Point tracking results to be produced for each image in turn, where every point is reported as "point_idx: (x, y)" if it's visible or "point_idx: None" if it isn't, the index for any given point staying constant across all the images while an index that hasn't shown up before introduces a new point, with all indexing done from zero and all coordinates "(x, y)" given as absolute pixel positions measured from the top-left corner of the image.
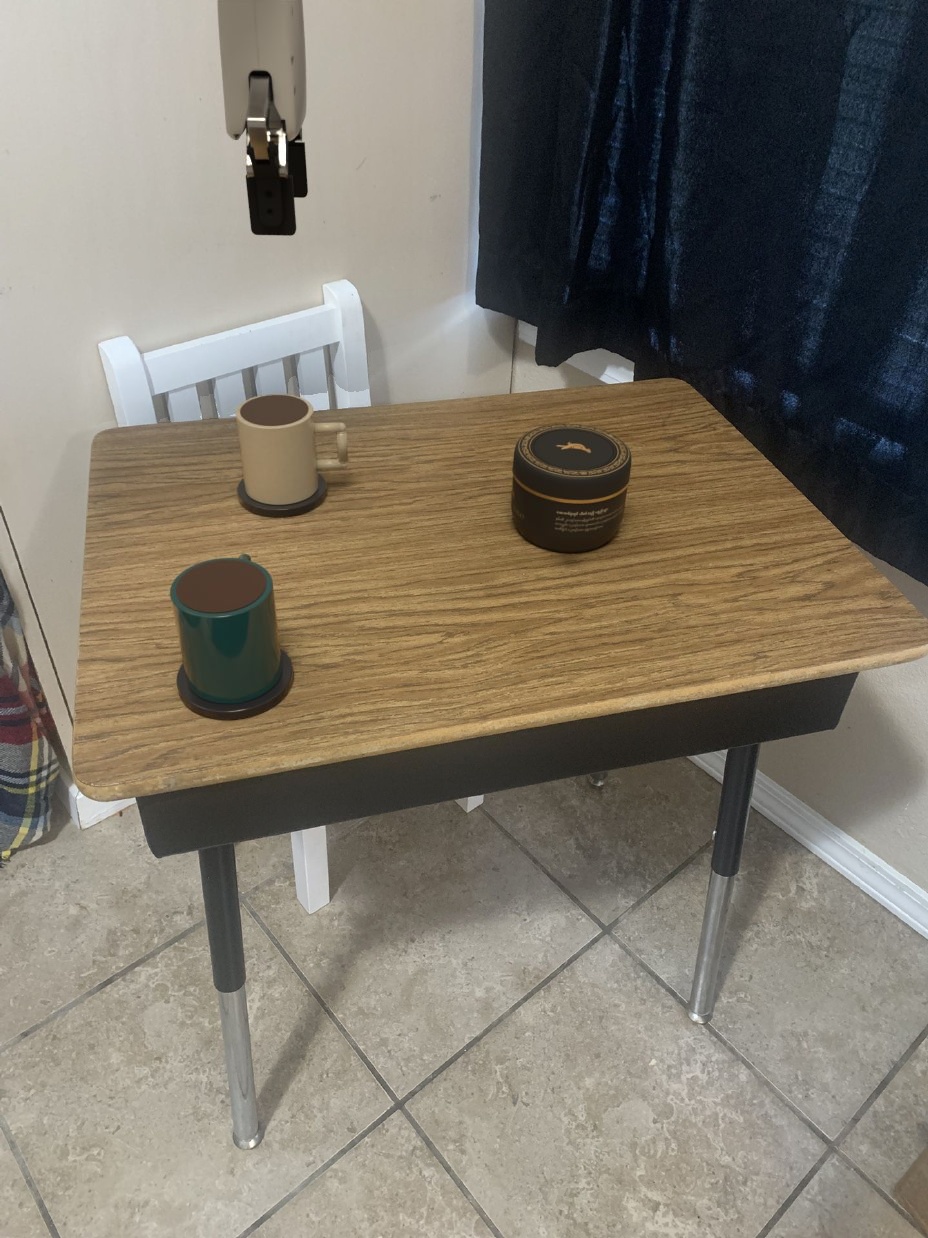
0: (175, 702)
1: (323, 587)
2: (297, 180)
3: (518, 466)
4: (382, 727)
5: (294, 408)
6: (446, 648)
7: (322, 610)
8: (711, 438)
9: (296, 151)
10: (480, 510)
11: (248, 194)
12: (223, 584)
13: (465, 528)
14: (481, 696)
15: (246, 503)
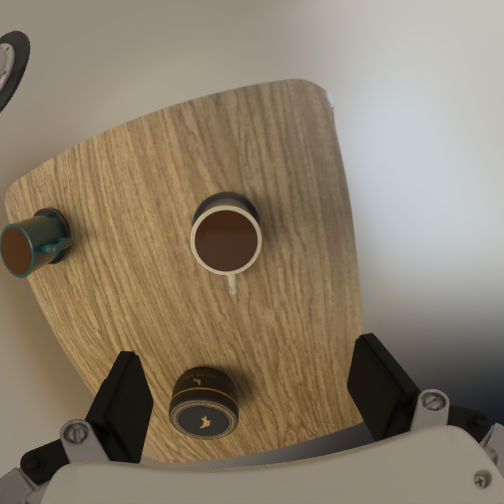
0: (36, 210)
1: (121, 268)
2: (357, 395)
3: (187, 396)
4: (43, 302)
5: (230, 259)
6: (91, 330)
7: (102, 270)
8: (300, 436)
9: (376, 430)
10: (216, 350)
11: (101, 392)
12: (15, 252)
13: (195, 343)
14: (69, 340)
15: (201, 203)
